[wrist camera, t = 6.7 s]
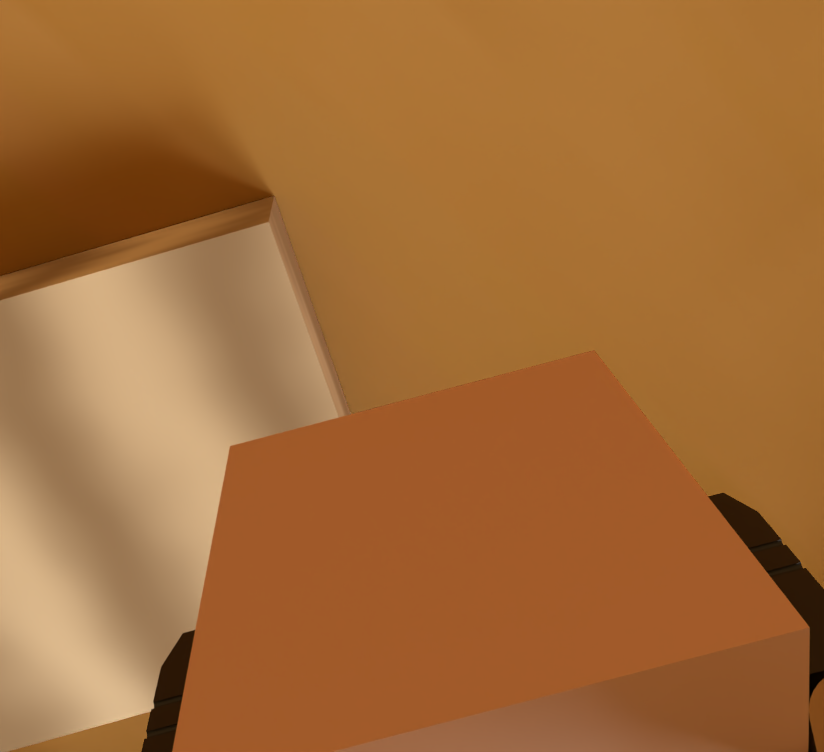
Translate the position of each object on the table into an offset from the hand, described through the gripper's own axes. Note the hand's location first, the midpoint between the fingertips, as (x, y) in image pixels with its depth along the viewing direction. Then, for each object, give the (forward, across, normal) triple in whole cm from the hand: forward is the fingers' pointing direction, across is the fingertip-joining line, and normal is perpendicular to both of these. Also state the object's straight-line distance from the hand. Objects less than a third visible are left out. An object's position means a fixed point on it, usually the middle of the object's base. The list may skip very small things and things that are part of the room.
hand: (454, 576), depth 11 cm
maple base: (+15, +10, +6) cm, 20 cm away
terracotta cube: (+1, 0, 0) cm, 1 cm away
